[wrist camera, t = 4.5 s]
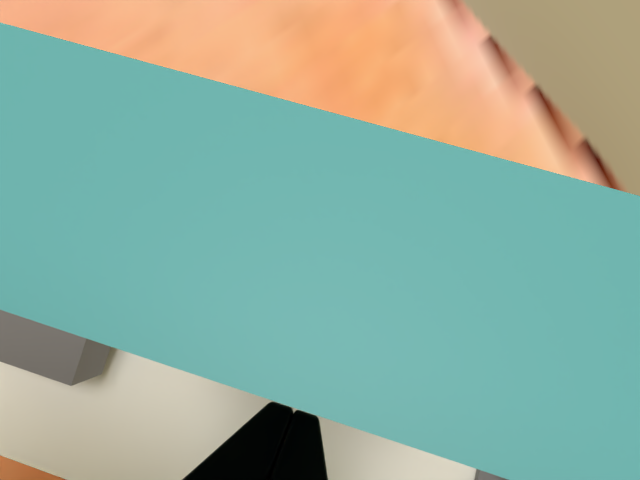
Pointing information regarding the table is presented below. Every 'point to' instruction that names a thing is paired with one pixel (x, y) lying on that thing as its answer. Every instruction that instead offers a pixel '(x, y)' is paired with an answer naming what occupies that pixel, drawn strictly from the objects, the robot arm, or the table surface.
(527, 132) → the table surface
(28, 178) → the paddle
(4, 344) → the grey block
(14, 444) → the panel
